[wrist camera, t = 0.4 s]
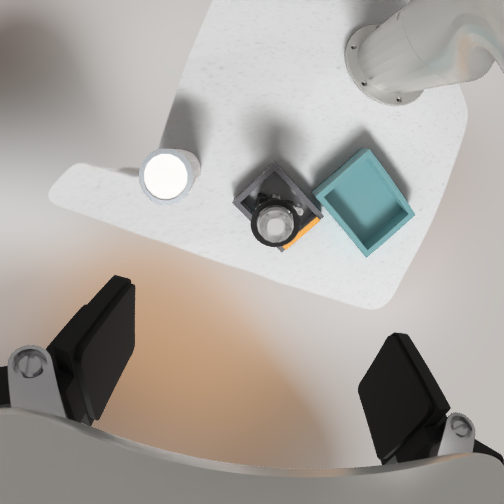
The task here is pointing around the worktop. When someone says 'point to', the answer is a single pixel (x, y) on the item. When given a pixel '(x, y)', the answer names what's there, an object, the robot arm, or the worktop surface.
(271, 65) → the worktop surface
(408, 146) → the worktop surface
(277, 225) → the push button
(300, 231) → the box
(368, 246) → the tray
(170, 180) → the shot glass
